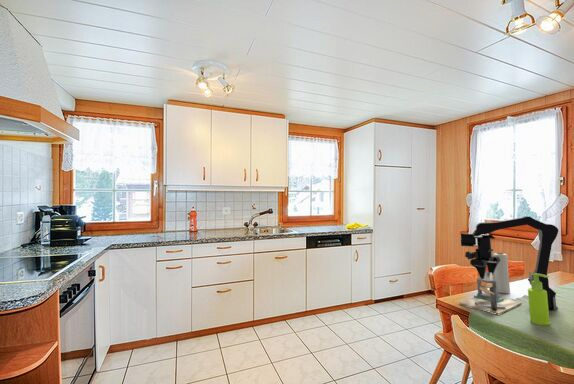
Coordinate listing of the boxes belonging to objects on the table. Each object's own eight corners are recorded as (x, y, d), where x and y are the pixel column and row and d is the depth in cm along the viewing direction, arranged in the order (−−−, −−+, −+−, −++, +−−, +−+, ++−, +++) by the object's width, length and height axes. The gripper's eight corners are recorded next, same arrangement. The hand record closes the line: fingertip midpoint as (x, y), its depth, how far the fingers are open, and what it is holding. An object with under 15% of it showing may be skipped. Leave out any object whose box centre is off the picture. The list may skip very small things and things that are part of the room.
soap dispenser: (548, 327, 108) (543, 276, 110) (527, 321, 115) (523, 272, 116) (556, 324, 111) (551, 274, 112) (535, 318, 117) (531, 271, 118)
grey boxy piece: (496, 299, 136) (494, 274, 136) (477, 295, 143) (475, 271, 144) (499, 298, 138) (497, 273, 139) (480, 294, 145) (479, 270, 146)
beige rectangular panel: (521, 304, 134) (521, 300, 134) (499, 315, 121) (498, 310, 122) (482, 295, 148) (482, 292, 148) (458, 304, 136) (458, 300, 136)
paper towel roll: (512, 294, 149) (508, 254, 151) (499, 293, 151) (495, 254, 153) (506, 290, 156) (503, 252, 158) (493, 289, 158) (490, 252, 160)
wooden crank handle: (495, 296, 143) (494, 282, 143) (497, 311, 124) (496, 294, 125) (480, 295, 146) (479, 281, 147) (480, 308, 128) (479, 292, 128)
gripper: (476, 244, 154) (478, 272, 153) (458, 247, 144) (460, 277, 143) (499, 245, 144) (501, 276, 143) (482, 249, 135) (484, 281, 134)
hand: (486, 277), depth 141 cm, fingers open, 9 cm apart
